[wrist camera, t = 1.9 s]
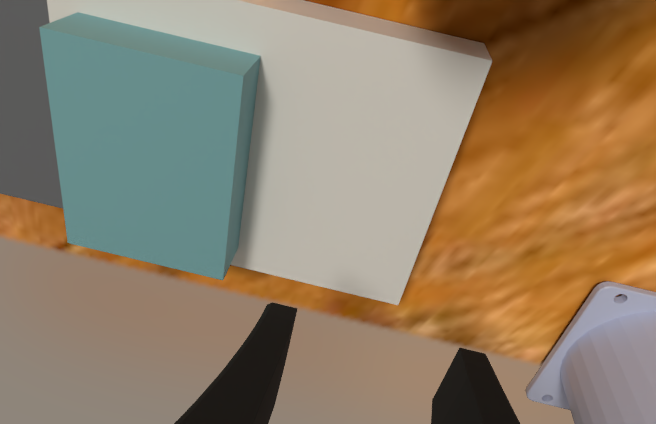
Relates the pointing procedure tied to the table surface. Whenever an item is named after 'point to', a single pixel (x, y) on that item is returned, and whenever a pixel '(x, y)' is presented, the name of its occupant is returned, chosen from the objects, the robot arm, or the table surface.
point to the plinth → (332, 131)
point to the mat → (26, 106)
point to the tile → (150, 140)
